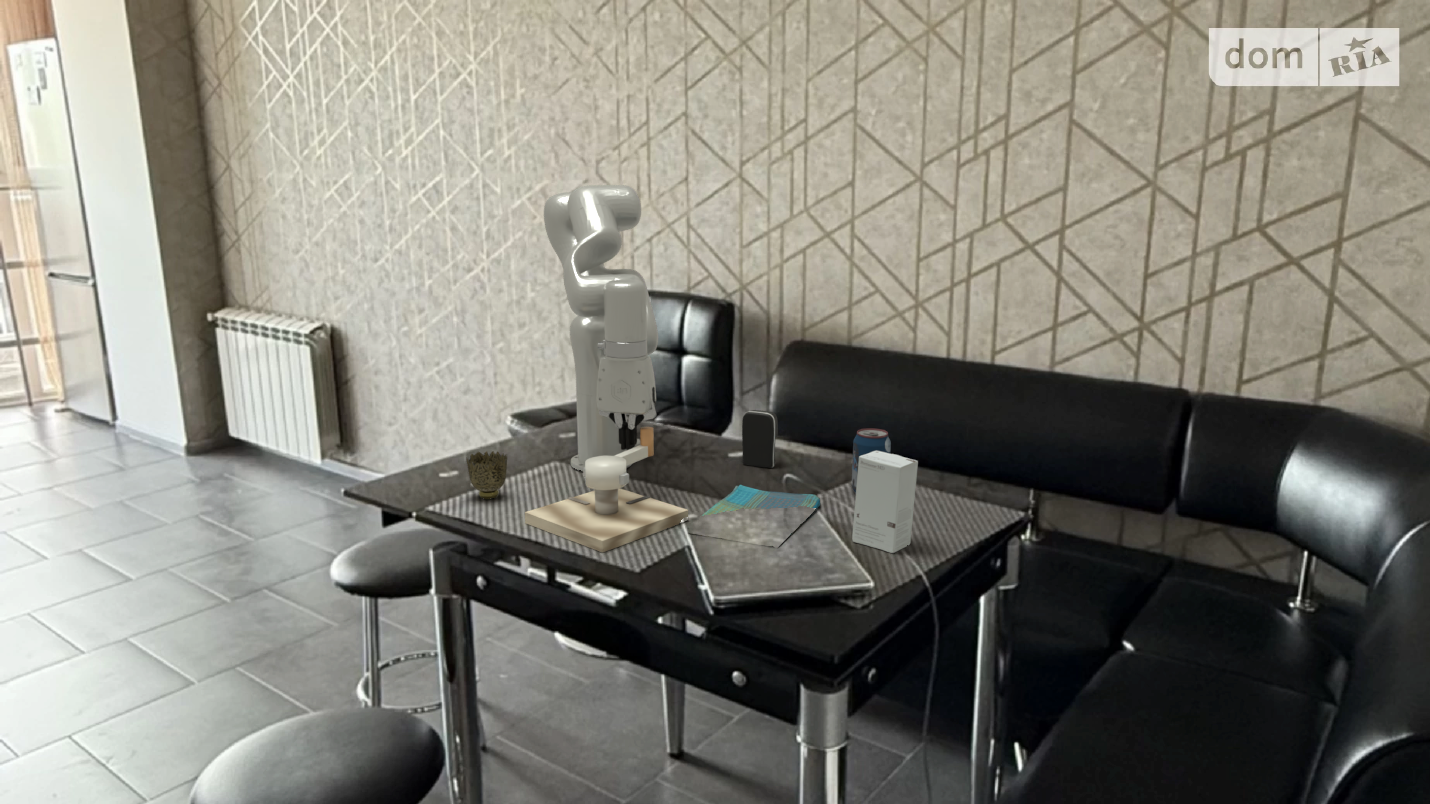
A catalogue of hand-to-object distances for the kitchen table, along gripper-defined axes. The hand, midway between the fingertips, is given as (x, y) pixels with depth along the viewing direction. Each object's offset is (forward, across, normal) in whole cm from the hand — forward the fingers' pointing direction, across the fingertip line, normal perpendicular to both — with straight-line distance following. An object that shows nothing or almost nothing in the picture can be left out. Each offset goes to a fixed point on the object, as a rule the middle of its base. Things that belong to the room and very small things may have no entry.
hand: (628, 447), depth 190 cm
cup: (+10, -26, -6) cm, 28 cm away
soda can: (+10, +42, +16) cm, 47 cm away
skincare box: (+10, +48, -9) cm, 50 cm away
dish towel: (+11, +25, -3) cm, 27 cm away
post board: (+10, 0, -12) cm, 16 cm away
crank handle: (+3, +2, -7) cm, 8 cm away
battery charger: (+10, +18, +28) cm, 35 cm away
